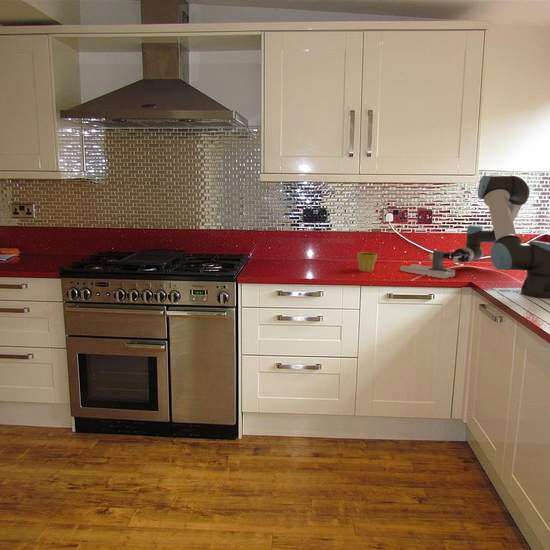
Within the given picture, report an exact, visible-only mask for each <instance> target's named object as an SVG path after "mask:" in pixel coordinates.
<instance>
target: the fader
mask: <svg viewBox="0 0 550 550" xmlns="http://www.w3.org/2000/svg"><path fill="white" fill-rule="evenodd" d="M444 252H445V251H444V250H439V249H438V250H433V252H432V254H433V259H432V265H431V267H432V268H428V270H435V271H442V272H445V271H446V269H447V268H444V258H443V257H444Z"/></svg>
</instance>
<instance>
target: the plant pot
mask: <svg viewBox="0 0 550 550" xmlns="http://www.w3.org/2000/svg"><path fill="white" fill-rule="evenodd" d="M377 258H378V254H377V253H374V252H369V251H361V252H357V253H356V260H357V263H358V268H359V269H358V271H360V272H364V273H365V272H366V273H368V272H370V273H371V272H373V270H374V266H375V263H376V261H378V260H377Z"/></svg>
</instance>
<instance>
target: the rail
mask: <svg viewBox="0 0 550 550" xmlns="http://www.w3.org/2000/svg"><path fill="white" fill-rule="evenodd" d="M428 268H432V266H427V265H421V264H420V265H419V264H414V263H413V264H410V266H407V265H400V268H399V269H400V271H401V272H406V273H410V274H411V273H412V274H416V275H420V274H421V275H422V276H425V275H427V276H426V277H431V276H432V277H431V278H438V279H449V277H450V278H454V276H455V277H456V269H448V268H446V271H445V272H442V271H435V270H428Z"/></svg>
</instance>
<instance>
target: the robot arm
mask: <svg viewBox="0 0 550 550" xmlns="http://www.w3.org/2000/svg"><path fill="white" fill-rule="evenodd" d="M530 192H531V191H530V186H529V184H528V182H527V180H525V179H524V178H523V177H522V176H520V175H517V174H484V175H482V176H481V178H480V180H479V183H478V187H477V198H478V199H480V200H483V202H484V205H486V206H488V209H489V210H488V211H489V214H490V218H491V223H492V228H483V226H482V225H478V224H477V225H475V224H471V225H469V224H468V226H467V230H466V237H465V238H466V241H465V243H466V244H465V247H462V248H457V249H456V250H455V251H450V252H449V251H446V252H445V251H444V257H443V259H448V260H452V262H453V263H468V262H472V261H478V260H480V259H481V258H482V257H483V255H484V250H483V249H482V247H481V244H482V243H483V244H484V243H485V244H487V243H488V244H492V245H491V247H490V252H489V253H490V260H491V263H492V265H493V267H494V268H495V269H497V270H503V271H526V277H525V279H524V281H523V283H522V285H521V287H520V288H521V290H520V293H521V294H523V295H526V296H530V297H537V298H550V242H545V241H540V240H532V239H531V240H530V241H529V242H528V243H523V242H522V238H521V237H520V236H518V235H517V232H516V229H515V224H514V221H515V220H516V218H517V215H518V214H519V212H520V210H521V208H522V206H523V205H525V204H526V203H527V202H528V200H529V196H530ZM429 260H433V253H430V254H429Z"/></svg>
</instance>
